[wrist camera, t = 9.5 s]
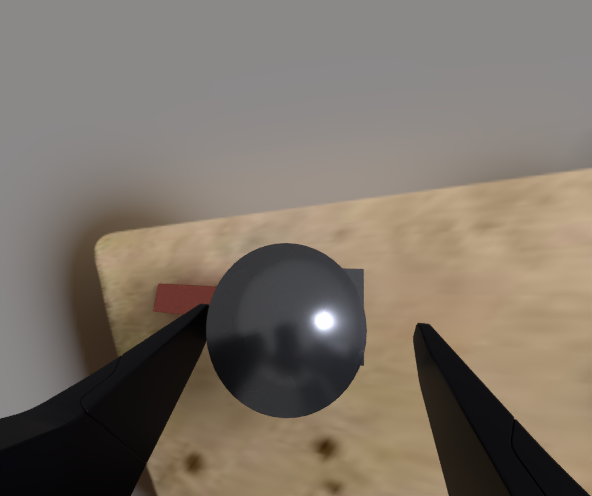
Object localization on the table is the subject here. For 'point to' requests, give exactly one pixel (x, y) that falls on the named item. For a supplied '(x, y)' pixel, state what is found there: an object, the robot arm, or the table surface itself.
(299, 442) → the table surface
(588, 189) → the table surface
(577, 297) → the table surface
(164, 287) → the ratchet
